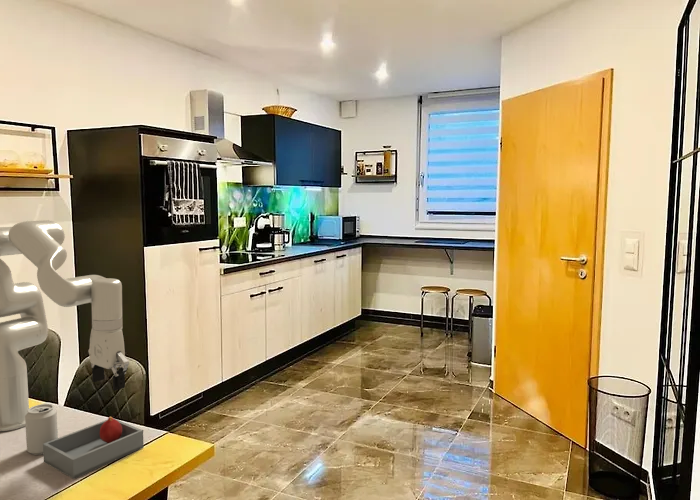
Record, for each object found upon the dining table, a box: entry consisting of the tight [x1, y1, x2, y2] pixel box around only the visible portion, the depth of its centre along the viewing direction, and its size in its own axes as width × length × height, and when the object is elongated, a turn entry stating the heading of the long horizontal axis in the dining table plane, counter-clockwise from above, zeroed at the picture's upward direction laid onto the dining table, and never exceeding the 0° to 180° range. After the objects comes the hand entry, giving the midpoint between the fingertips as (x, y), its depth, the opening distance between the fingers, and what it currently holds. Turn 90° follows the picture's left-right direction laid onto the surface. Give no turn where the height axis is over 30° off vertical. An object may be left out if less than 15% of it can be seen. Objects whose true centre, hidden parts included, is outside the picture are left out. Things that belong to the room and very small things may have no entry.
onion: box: [100, 416, 122, 443], centre depth 145 cm, size 6×6×8 cm
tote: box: [42, 417, 144, 480], centre depth 140 cm, size 15×20×5 cm
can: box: [25, 403, 59, 456], centre depth 143 cm, size 8×8×12 cm
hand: (108, 384), depth 143 cm, fingers open, 9 cm apart
